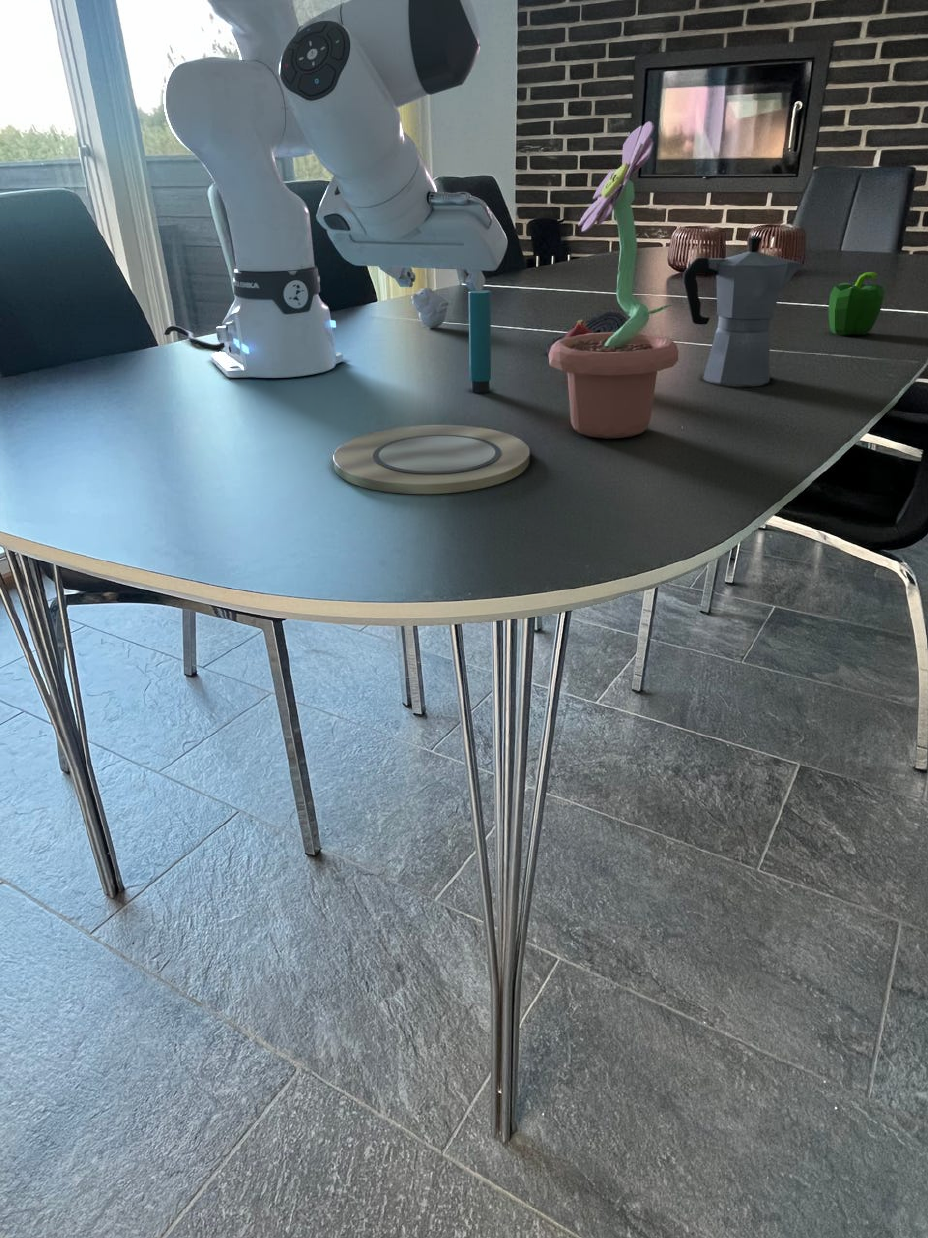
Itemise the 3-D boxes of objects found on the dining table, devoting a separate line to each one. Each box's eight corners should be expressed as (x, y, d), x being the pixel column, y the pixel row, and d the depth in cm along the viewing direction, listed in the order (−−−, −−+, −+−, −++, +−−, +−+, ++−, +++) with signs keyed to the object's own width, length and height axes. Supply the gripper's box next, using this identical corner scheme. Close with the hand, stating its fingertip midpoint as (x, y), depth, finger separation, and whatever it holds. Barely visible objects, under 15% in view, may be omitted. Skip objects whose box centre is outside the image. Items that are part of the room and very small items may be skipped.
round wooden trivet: (300, 456, 88) (298, 446, 87) (454, 423, 98) (454, 414, 97) (401, 510, 74) (400, 498, 73) (570, 465, 84) (570, 454, 83)
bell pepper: (811, 332, 145) (822, 270, 140) (846, 328, 148) (858, 267, 143) (849, 340, 139) (862, 275, 134) (885, 335, 142) (899, 272, 137)
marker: (465, 390, 112) (464, 291, 106) (482, 387, 114) (481, 289, 108) (478, 394, 110) (477, 293, 104) (495, 391, 112) (495, 291, 106)
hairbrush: (527, 335, 132) (593, 305, 150) (527, 358, 134) (592, 326, 152) (575, 339, 128) (637, 308, 146) (574, 364, 130) (635, 330, 148)
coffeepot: (771, 370, 119) (792, 232, 111) (796, 386, 111) (822, 237, 102) (664, 373, 119) (677, 235, 110) (681, 389, 111) (697, 240, 102)
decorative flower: (542, 412, 102) (550, 126, 87) (657, 411, 101) (683, 123, 87) (550, 449, 88) (560, 119, 74) (681, 447, 88) (717, 116, 74)
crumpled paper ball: (411, 325, 159) (410, 286, 156) (448, 324, 160) (447, 285, 156) (413, 331, 154) (411, 290, 150) (451, 329, 154) (450, 289, 151)
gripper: (490, 167, 82) (531, 264, 94) (324, 170, 91) (381, 259, 103) (469, 220, 81) (513, 312, 93) (303, 218, 90) (363, 302, 102)
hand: (442, 284), depth 98 cm, fingers open, 8 cm apart
